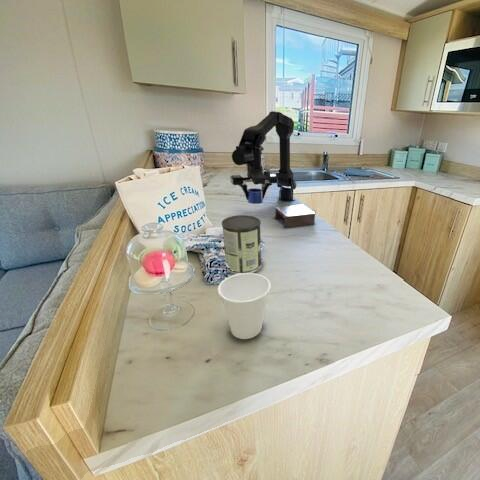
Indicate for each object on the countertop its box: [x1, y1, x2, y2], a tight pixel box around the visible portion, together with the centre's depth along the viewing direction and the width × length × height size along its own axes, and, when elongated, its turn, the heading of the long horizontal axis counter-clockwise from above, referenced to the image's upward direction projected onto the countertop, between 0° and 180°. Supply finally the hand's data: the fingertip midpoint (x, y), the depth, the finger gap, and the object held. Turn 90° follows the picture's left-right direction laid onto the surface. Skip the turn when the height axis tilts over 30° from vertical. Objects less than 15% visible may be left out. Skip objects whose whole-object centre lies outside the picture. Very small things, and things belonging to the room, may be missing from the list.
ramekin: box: [247, 187, 264, 205], centre depth 118 cm, size 6×6×5 cm
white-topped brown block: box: [274, 204, 316, 229], centre depth 116 cm, size 13×12×5 cm
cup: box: [217, 272, 272, 340], centre depth 55 cm, size 10×10×11 cm
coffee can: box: [221, 214, 262, 275], centre depth 78 cm, size 10×10×14 cm
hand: (255, 199), depth 118 cm, fingers closed on ramekin, 6 cm apart
